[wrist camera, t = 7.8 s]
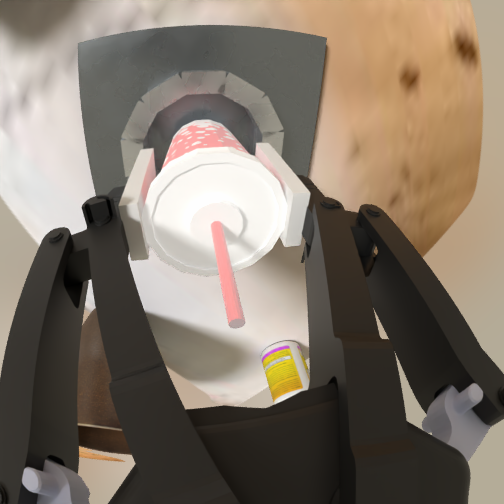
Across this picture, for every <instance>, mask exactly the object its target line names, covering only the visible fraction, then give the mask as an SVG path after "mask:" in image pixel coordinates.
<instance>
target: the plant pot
mask: <svg viewBox="0 0 504 504" xmlns="http://www.w3.org/2000/svg"><path fill="white" fill-rule="evenodd" d="M111 381H112V380H111V374H110V370H109V367H108V363H107V359H106V355H105V351H104V346H103V342H102V337H101V333H100V328H99V323H98V317H97V312H96V308H95V309H94V310H93V311H92V312H91V314H90V315H89V316H88V318H87V319H86V321H85V323H84V324H83V325H82V330H81V339H80V351H79V365H78V389H77V415H78V438H79V446H81V447H84V448H88V449H93V450H98V451H103V452H109V453H117V454H129V455H132V454H131V451H130V449H129V446H128V444H127V441H126V439H125V436H124V433H123V431H122V428H121V425H120V422H119V420H118V417H117V414H116V411H115V407H114V404H113V401H112V398H111V394H110V390H109V383H110V382H111Z"/></svg>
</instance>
